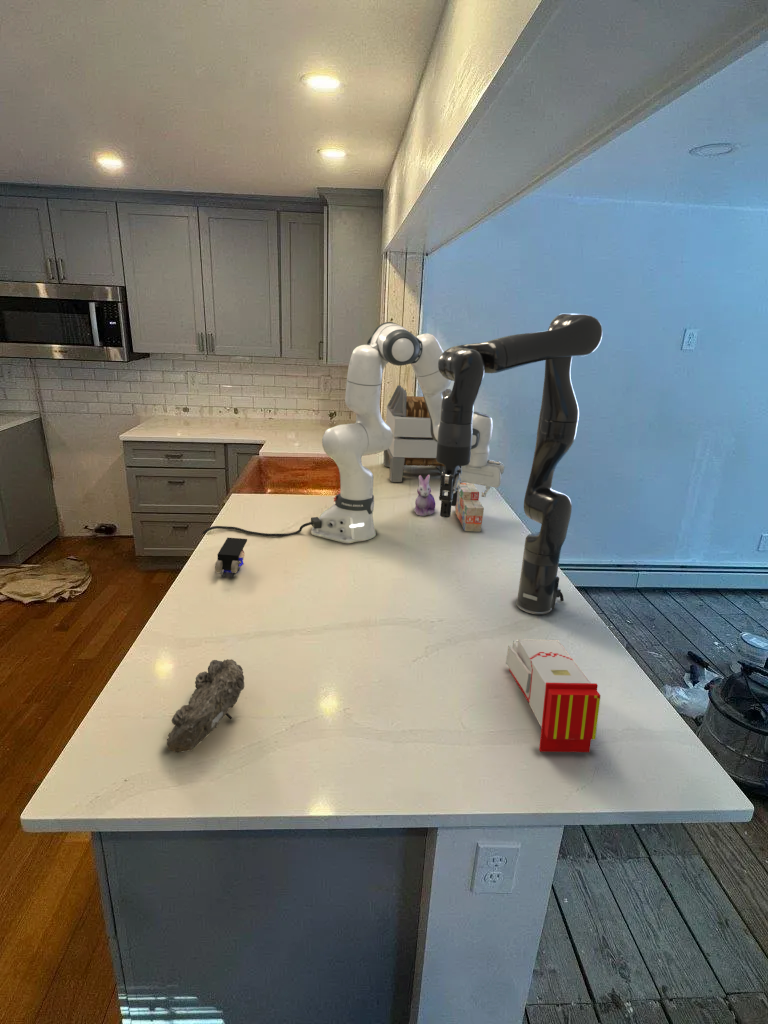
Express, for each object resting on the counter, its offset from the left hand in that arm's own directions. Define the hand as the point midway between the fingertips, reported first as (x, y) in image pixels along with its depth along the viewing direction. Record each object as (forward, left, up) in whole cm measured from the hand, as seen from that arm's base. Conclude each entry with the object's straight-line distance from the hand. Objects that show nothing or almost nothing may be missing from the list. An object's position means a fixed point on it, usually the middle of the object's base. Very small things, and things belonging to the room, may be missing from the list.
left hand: (470, 494), depth 207 cm
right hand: (+3, -76, +19) cm, 78 cm away
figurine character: (-61, -64, -12) cm, 89 cm away
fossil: (-32, -121, -12) cm, 126 cm away
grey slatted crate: (-32, +62, -12) cm, 71 cm away
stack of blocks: (-1, +5, -12) cm, 13 cm away
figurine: (-18, +8, -12) cm, 23 cm away
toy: (+29, -96, -12) cm, 101 cm away
